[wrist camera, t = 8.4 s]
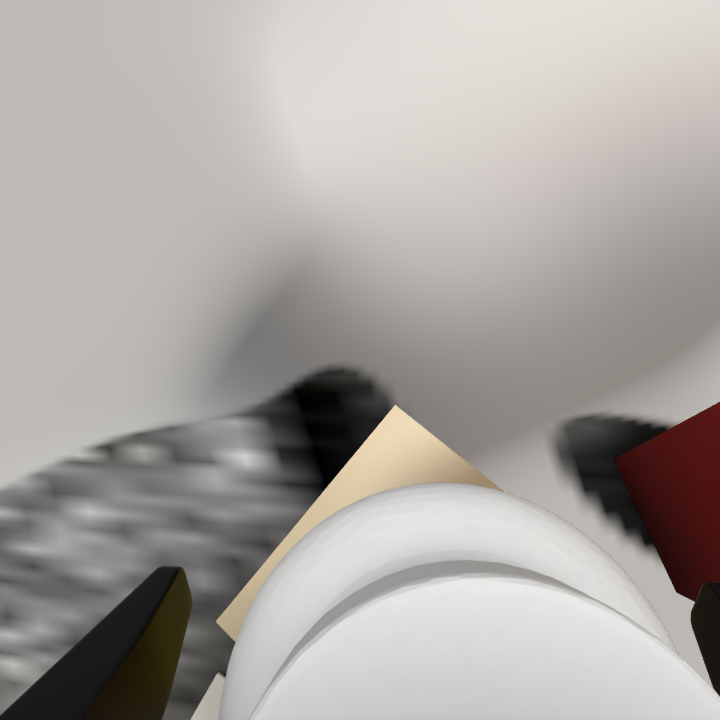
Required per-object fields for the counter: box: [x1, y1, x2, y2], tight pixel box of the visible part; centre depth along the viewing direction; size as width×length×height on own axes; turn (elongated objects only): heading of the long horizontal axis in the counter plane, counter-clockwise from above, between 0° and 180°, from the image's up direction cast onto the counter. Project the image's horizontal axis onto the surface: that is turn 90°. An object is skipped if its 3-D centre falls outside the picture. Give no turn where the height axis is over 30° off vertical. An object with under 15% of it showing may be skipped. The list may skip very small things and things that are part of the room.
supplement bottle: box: [219, 482, 720, 720], centre depth 10 cm, size 7×7×13 cm
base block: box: [216, 405, 504, 642], centre depth 17 cm, size 9×9×2 cm
